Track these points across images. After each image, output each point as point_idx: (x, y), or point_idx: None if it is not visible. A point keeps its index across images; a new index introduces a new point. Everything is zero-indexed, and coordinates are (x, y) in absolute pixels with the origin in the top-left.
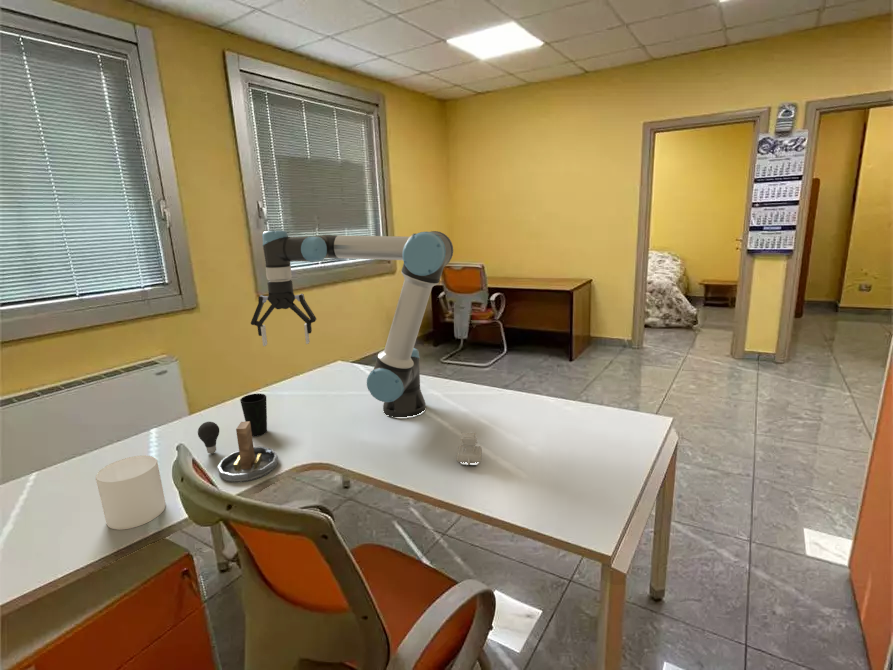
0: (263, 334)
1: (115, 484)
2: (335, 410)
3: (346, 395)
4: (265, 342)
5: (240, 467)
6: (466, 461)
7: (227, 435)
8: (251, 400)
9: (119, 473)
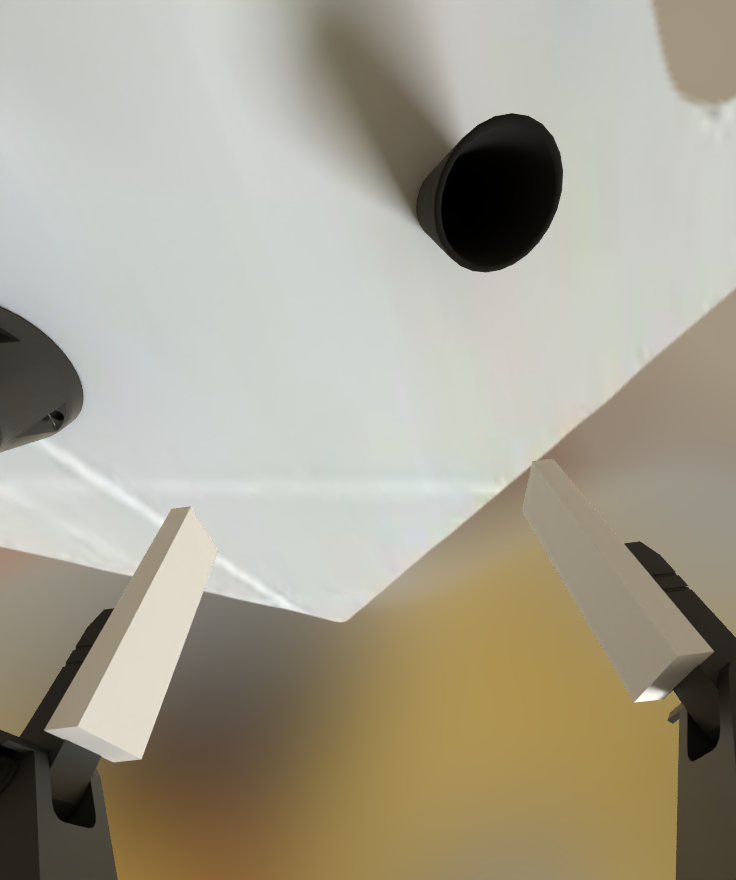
0: (606, 551)
1: None
2: (241, 377)
3: (254, 472)
4: (543, 493)
5: None
6: None
7: None
8: (505, 248)
9: None
